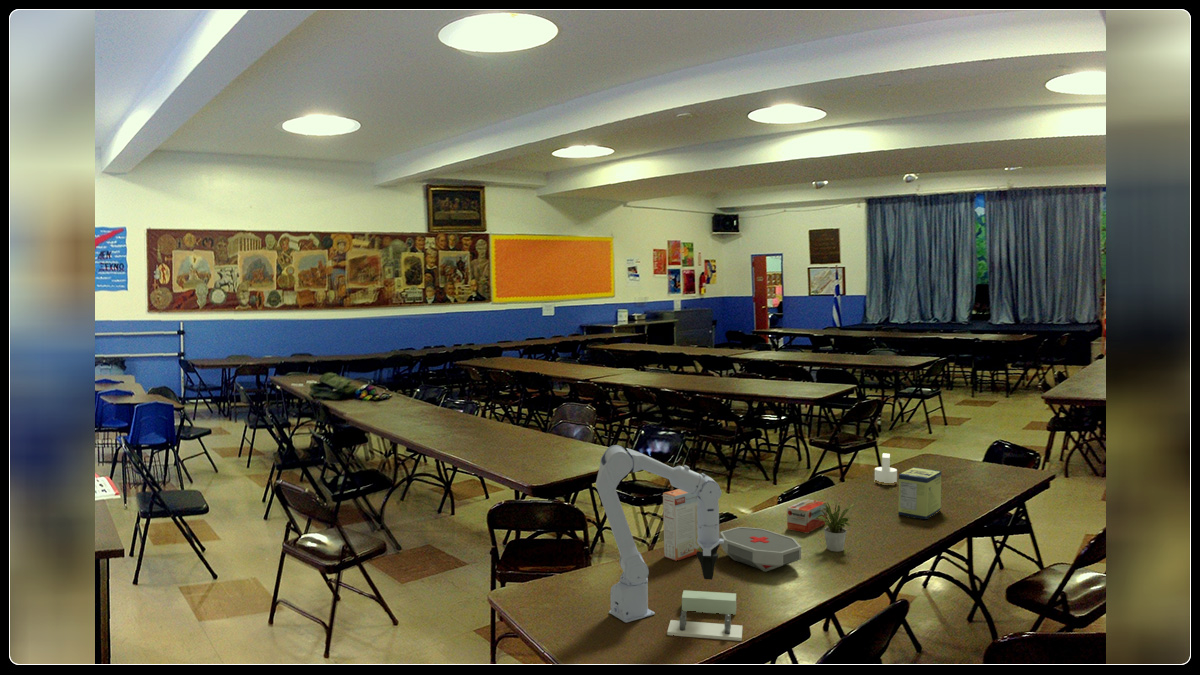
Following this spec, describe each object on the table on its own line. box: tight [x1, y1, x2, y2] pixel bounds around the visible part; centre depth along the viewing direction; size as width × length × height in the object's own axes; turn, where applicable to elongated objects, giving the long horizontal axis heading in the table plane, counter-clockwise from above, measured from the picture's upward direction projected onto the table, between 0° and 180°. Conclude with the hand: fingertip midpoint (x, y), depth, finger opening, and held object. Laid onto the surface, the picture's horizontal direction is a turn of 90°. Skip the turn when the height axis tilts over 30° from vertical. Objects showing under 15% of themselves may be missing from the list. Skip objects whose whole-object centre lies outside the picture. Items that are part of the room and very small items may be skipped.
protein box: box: [897, 466, 942, 520], centre depth 295 cm, size 10×16×16 cm
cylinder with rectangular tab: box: [874, 452, 898, 483], centre depth 341 cm, size 9×9×12 cm
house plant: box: [812, 498, 855, 553], centre depth 257 cm, size 14×14×16 cm
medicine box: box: [786, 498, 828, 534], centre depth 281 cm, size 15×8×8 cm, turn 139°
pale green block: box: [681, 589, 737, 616], centre depth 211 cm, size 14×5×4 cm, turn 79°
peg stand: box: [666, 610, 744, 642], centre depth 197 cm, size 18×7×4 cm, turn 78°
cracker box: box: [662, 488, 702, 562], centre depth 253 cm, size 14×6×21 cm, turn 130°
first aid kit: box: [719, 526, 802, 573], centre depth 245 cm, size 18×8×25 cm
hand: (709, 573), depth 210 cm, fingers open, 7 cm apart
